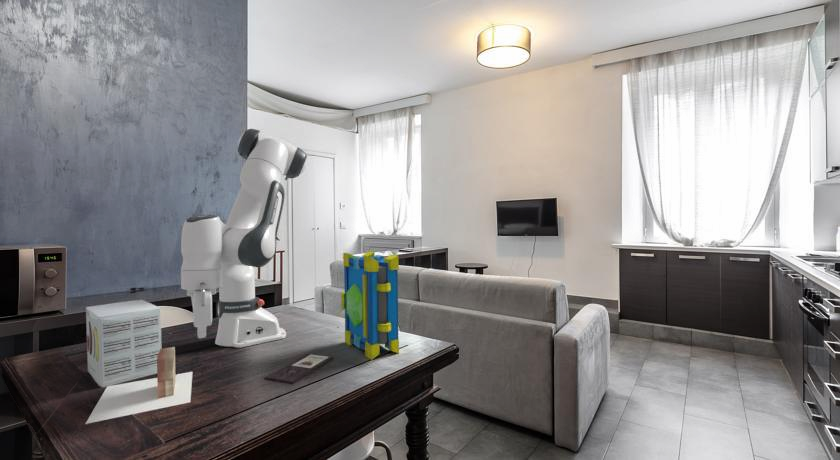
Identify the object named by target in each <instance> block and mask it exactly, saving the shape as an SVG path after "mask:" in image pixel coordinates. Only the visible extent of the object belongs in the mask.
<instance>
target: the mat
mask: <svg viewBox="0 0 840 460" xmlns="http://www.w3.org/2000/svg"><path fill="white" fill-rule="evenodd" d="M175 374H176V373H175ZM192 383H193V371H188V372H183V373H177V374H176V384H175V390H174V395H172V396H167V397H162V398H158V382H157V377H154V378H148V379H143V380H137V381H136V380H135V381H131V382H130V381H129V382H126V383H125V382H123V383H118V384H114V385H110V386H106V387H105V390H104V392H103V393H102V395H101V396H100V398H99V400H98V402H97V403H96V405H95V407H94V408H93V410H92V412H91V414H90V415H89V417H88V419H87V420H86V422H85V425H88V424H92V423H93V424H94V423H98V422H103V421H107V420H111V419H117V418H122V417H125V416H131V415H135V414H140V413H145V412H150V411H155V410H160V409H164V408H169V407H174V406H179V405H185V404H188V403H191V399H192V398H191V397H192V387H193V385H192Z"/></svg>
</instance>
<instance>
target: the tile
mask: <svg viewBox="0 0 840 460" xmlns="http://www.w3.org/2000/svg"><path fill="white" fill-rule="evenodd" d="M156 375H157V377H156V378H157V382H158V398H162V397H167V396H172V395H174V390H175V384H176V347H175V346H172V347H164V348H162V349H160V351H159V354H158V357H157V373H156Z"/></svg>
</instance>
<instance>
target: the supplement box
mask: <svg viewBox="0 0 840 460" xmlns="http://www.w3.org/2000/svg"><path fill="white" fill-rule="evenodd" d="M161 313H162V312H161V307H160V306H159V305H155V304H153V303H151V302H149V301H146V300H144V299H136V300H135V299H134V300H128V301H119V302H113V303H106V304H98V305H93V306H92V305H91V306H85V320H86V321H85V322H86V325H85V327H86V351H87V352H86V355H87V357H86V358H87V372H88V373H89V374H90V375H91V378H92V379H93V380H94V381H95V383H96V384H97V386H99V387H100V388H107V386H113V385H119V384H123V383H125V382H128V381H129V382H130V381H133V380H135V379H136V380H137V379H140V378H145V377H147V376H152V375H157V357H158V354H159V351H160V349H163V348H162V346H163V345H162V318H161V317H162V314H161Z"/></svg>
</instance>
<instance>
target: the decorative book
mask: <svg viewBox="0 0 840 460" xmlns="http://www.w3.org/2000/svg"><path fill="white" fill-rule="evenodd" d="M399 261H400V260H399V255H398V254H390V255H388V256H384V255H383V254H382V255H381V254H376V255H375V251H372V250H371V251H370V250H368V251H367V252H366V253H364V254H362V256H359V255H358V256H357V255H356V256H355V255H353V254H351V253H348V252H343V266H344V267H343V268H344V273H343V274H344V291H343V292H341V291H340V292H341V296H340V297H341V298H340V299H341V302H340V304H341V310H343V309H344V342H345V343H346V344H347V345H348V346H352V345H354V346H356V348H358V349H361V350H363V351H364V356H365V357H366V358H368V359H369V360H370V361H372V360H374V359H375V358H376V357H378V356H379V355H380V350H381V349H380V345H384V348H386V349H387V350H389V351H391V352H393V353H397V354H399V353H400V339H399V294H398V293H399V288H398V287H399V286H398V284H399V279H398V278H399V277H398V276H399V275H398V271H399Z"/></svg>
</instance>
